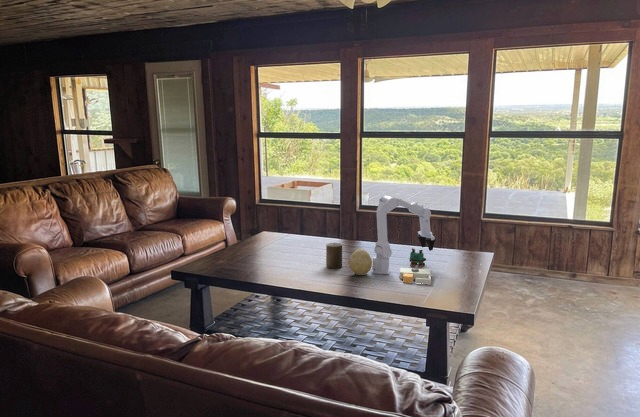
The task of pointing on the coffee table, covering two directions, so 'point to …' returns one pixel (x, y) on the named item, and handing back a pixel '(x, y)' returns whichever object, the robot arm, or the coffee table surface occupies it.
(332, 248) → the pillar candle
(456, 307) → the coffee table surface
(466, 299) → the coffee table surface
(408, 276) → the chute block
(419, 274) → the white notched block
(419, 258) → the binoculars
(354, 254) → the fossilized egg
